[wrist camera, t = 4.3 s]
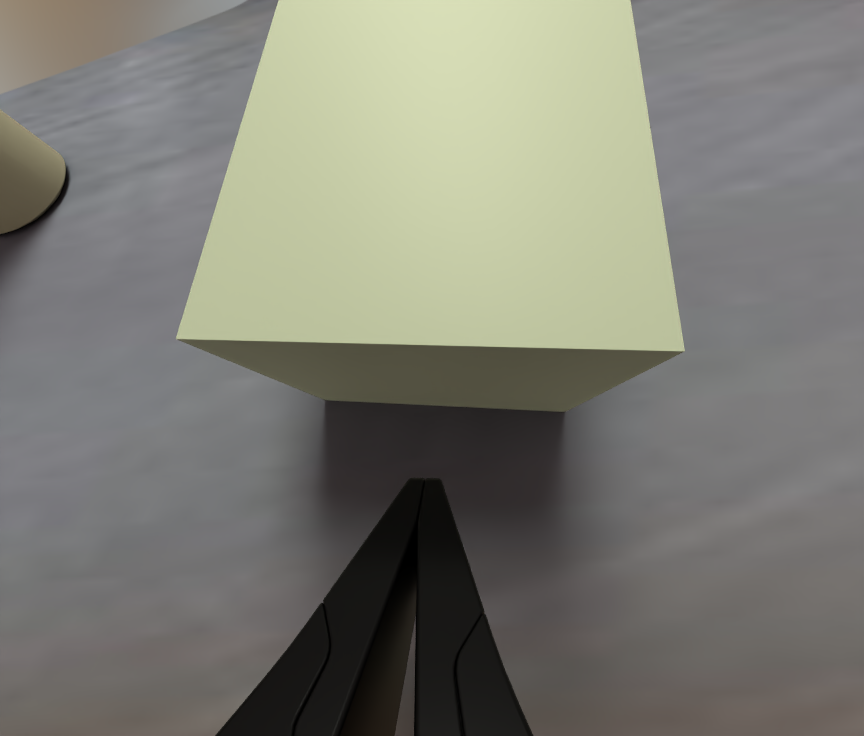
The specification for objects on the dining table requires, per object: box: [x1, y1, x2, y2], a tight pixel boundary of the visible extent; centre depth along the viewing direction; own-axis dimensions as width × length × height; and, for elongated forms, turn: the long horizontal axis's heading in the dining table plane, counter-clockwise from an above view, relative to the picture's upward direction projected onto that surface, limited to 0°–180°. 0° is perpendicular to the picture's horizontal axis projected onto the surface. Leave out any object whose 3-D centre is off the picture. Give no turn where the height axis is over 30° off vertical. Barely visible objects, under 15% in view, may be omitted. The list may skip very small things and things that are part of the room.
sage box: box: [176, 0, 685, 412], centre depth 14 cm, size 14×12×9 cm
